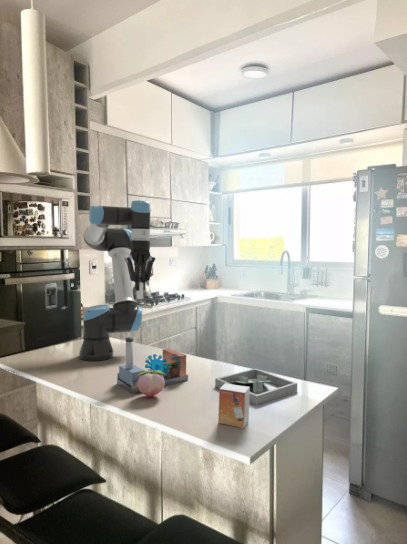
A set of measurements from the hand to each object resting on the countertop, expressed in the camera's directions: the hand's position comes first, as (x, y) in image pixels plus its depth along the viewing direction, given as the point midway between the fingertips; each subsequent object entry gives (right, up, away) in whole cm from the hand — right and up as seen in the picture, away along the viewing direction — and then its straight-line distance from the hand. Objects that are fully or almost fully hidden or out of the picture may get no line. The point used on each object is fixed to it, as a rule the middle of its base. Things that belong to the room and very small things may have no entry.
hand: (139, 298), depth 159 cm
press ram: (0, -29, -16) cm, 33 cm away
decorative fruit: (+8, -32, -24) cm, 41 cm away
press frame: (+7, -31, -10) cm, 33 cm away
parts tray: (+45, -32, -15) cm, 57 cm away
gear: (+8, -29, -8) cm, 31 cm away
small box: (+35, -34, -42) cm, 64 cm away
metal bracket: (+44, -33, -12) cm, 56 cm away
